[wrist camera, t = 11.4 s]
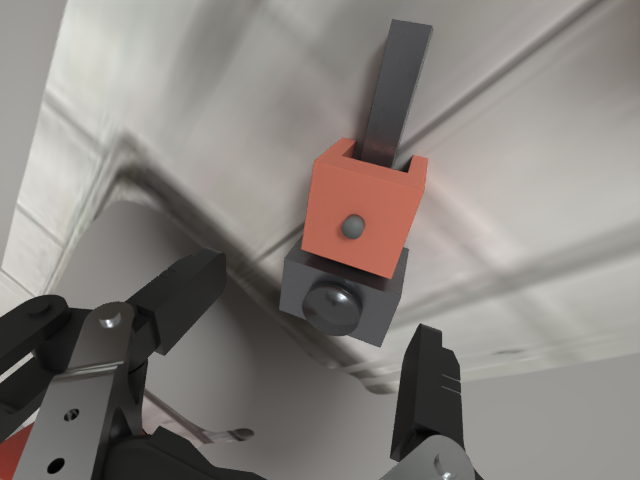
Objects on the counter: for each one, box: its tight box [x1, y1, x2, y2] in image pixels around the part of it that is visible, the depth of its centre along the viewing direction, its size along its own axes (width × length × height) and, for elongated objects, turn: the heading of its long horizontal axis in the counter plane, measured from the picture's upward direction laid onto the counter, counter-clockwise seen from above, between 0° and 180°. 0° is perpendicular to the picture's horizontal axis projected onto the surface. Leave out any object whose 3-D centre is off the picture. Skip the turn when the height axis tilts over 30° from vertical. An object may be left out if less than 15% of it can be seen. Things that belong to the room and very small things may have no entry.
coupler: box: [279, 19, 433, 347], centre depth 20 cm, size 19×8×7 cm, turn 171°
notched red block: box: [301, 138, 428, 279], centre depth 20 cm, size 6×6×7 cm
